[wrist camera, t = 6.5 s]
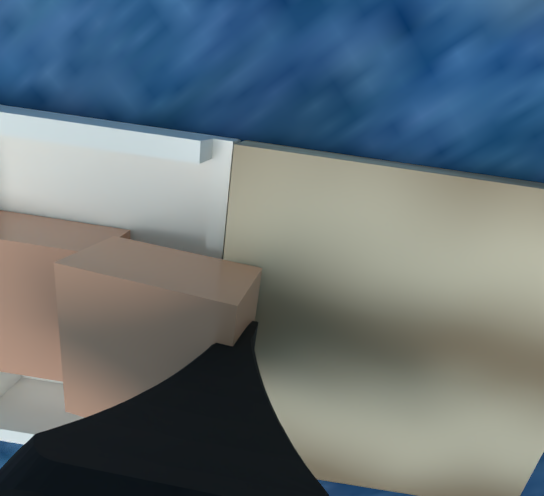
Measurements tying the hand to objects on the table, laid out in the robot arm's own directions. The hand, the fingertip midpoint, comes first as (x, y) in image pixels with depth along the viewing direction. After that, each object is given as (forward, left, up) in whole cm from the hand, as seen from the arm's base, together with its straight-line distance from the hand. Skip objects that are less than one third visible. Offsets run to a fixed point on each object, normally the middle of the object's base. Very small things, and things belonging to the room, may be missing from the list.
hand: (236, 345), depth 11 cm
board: (0, -5, -3) cm, 6 cm away
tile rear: (0, +7, -3) cm, 8 cm away
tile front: (0, +2, -1) cm, 2 cm away
